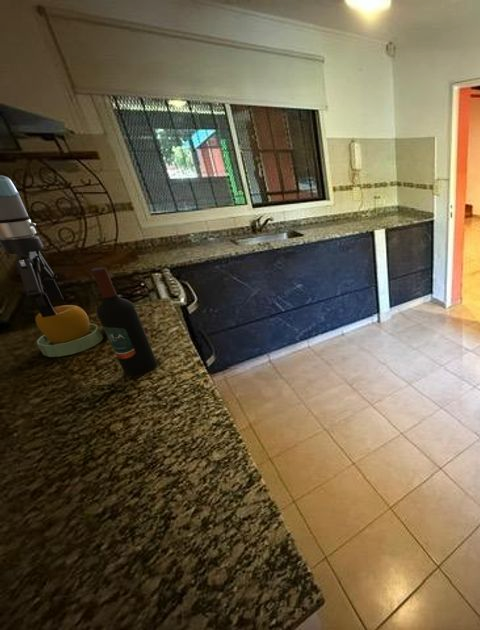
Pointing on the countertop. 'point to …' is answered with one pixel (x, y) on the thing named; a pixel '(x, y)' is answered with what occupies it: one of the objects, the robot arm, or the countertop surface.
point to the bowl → (70, 343)
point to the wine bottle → (123, 328)
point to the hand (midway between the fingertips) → (53, 307)
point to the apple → (64, 324)
